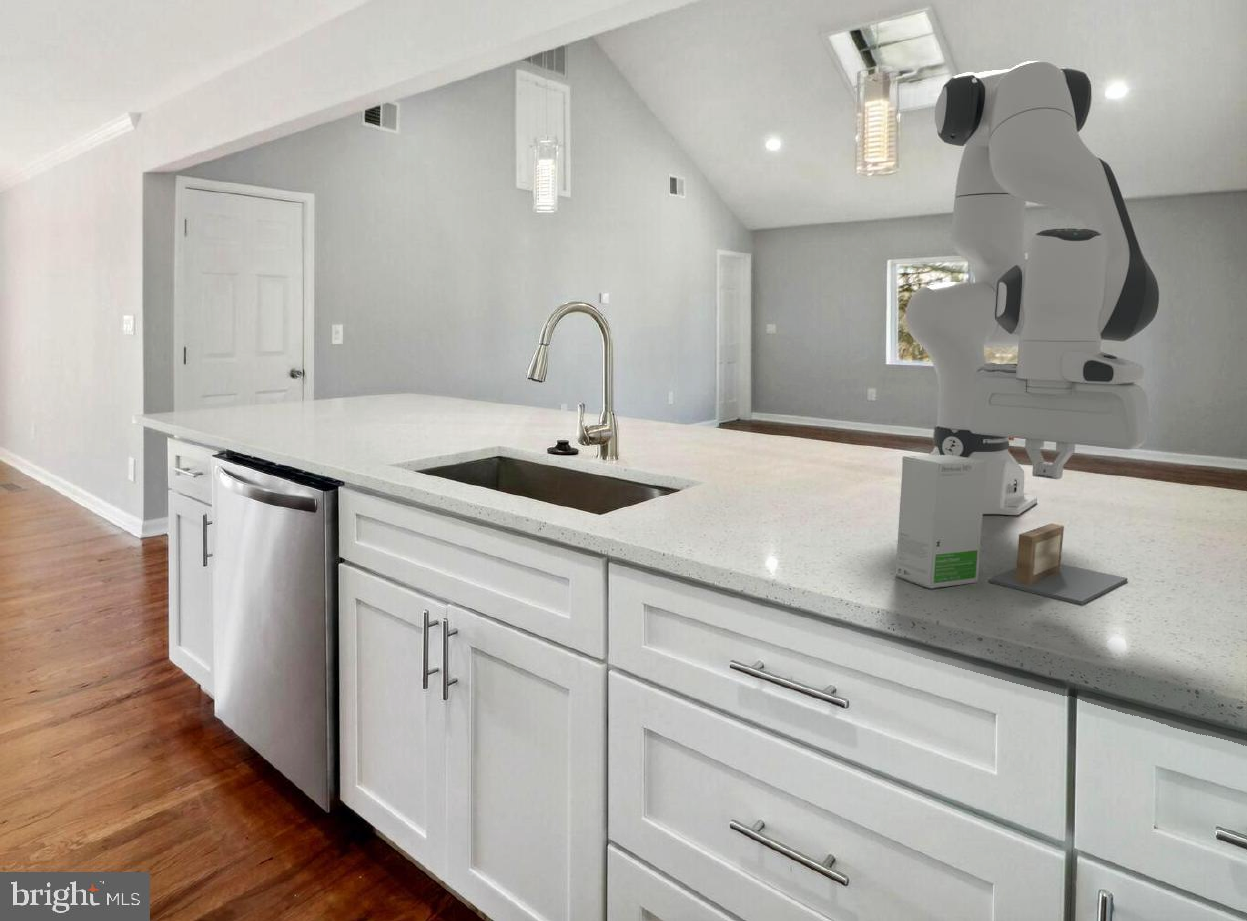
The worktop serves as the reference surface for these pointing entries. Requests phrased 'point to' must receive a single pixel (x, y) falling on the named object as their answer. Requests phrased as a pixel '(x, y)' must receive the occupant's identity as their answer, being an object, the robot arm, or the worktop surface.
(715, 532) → the worktop surface
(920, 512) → the skincare box
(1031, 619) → the worktop surface
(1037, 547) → the walnut slab
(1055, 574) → the slate mat
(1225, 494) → the worktop surface
